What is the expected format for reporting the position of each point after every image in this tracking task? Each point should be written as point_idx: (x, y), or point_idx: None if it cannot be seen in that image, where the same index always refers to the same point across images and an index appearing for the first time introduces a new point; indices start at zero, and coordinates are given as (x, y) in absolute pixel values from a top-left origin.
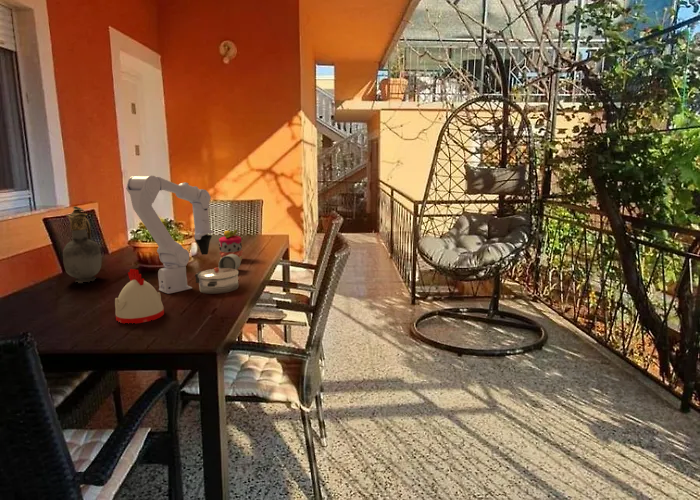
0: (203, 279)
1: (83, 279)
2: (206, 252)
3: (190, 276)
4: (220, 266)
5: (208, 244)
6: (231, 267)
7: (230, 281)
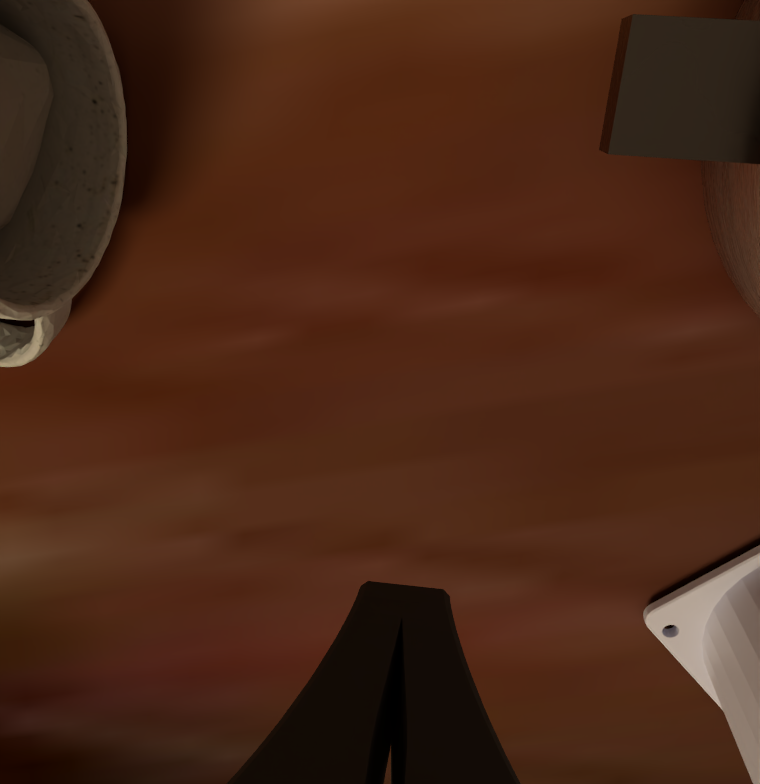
0: None
1: None
2: (453, 629)
3: (242, 585)
4: (28, 280)
5: (357, 767)
6: (23, 81)
7: None
